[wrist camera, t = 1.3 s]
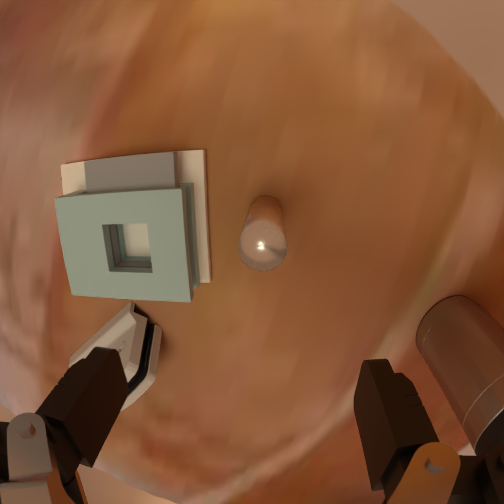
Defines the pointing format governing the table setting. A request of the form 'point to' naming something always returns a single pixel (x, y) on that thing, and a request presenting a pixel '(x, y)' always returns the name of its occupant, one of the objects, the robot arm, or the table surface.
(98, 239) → the square frame block
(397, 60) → the table surface
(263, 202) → the pin
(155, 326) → the white black beveled block
